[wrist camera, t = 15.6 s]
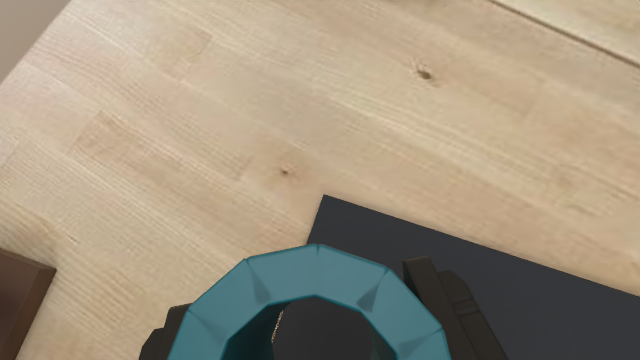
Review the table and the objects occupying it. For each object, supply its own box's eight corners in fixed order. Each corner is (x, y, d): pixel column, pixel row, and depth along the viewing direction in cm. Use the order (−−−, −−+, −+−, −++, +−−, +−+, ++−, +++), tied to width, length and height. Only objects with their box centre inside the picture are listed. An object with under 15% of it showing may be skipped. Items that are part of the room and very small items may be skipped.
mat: (641, 544, 21) (647, 549, 21) (255, 394, 24) (254, 396, 23) (676, 310, 24) (681, 310, 23) (324, 195, 26) (323, 193, 26)
